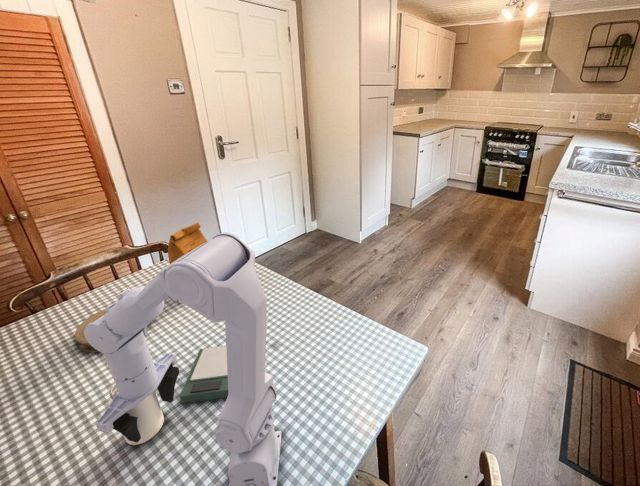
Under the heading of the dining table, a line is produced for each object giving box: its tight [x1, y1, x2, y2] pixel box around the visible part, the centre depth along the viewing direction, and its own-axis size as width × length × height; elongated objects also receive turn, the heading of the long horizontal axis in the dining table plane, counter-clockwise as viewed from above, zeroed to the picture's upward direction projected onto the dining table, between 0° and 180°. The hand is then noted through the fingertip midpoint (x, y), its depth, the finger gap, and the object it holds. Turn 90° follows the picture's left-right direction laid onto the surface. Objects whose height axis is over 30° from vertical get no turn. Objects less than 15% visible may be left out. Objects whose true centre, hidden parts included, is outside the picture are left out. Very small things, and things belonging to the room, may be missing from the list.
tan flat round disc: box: [74, 309, 106, 353], centre depth 85 cm, size 16×16×3 cm
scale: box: [179, 345, 228, 405], centre depth 72 cm, size 13×10×3 cm
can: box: [109, 383, 165, 446], centre depth 58 cm, size 6×6×12 cm
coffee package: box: [167, 222, 208, 264], centre depth 101 cm, size 10×12×22 cm
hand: (152, 418), depth 59 cm, fingers open, 7 cm apart
